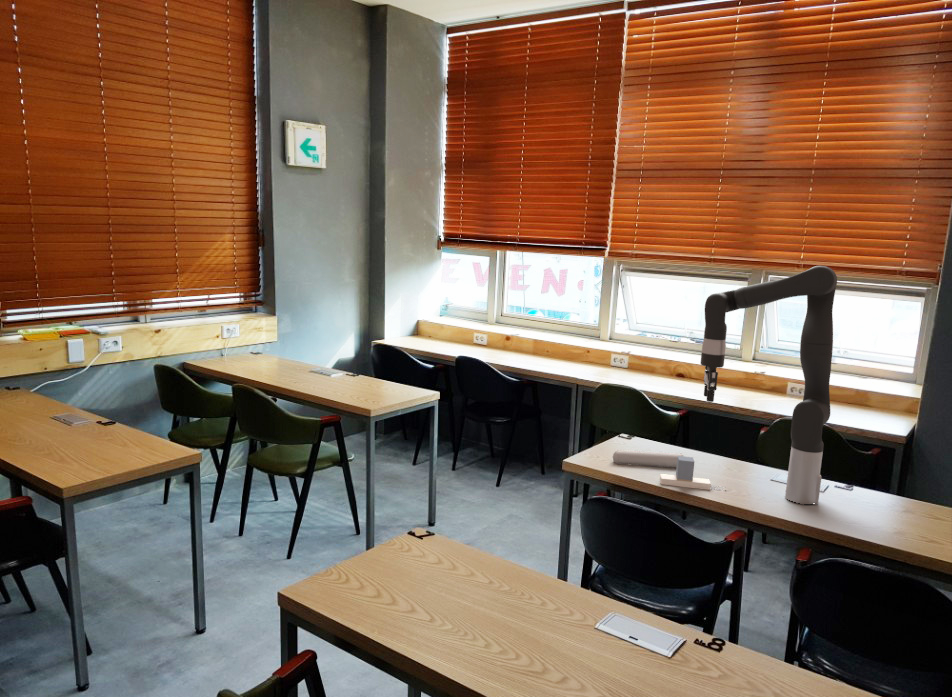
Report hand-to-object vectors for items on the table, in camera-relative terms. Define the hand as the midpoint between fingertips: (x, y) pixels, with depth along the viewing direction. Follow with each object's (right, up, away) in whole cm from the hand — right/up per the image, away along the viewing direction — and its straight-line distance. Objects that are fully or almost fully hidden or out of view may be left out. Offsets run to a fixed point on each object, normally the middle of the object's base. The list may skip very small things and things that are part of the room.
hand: (708, 398), depth 244 cm
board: (-9, -29, -4) cm, 30 cm away
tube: (-17, -26, +16) cm, 35 cm away
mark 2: (+3, -30, -6) cm, 30 cm away
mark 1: (0, -30, -5) cm, 30 cm away
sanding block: (-10, -27, -4) cm, 29 cm away
